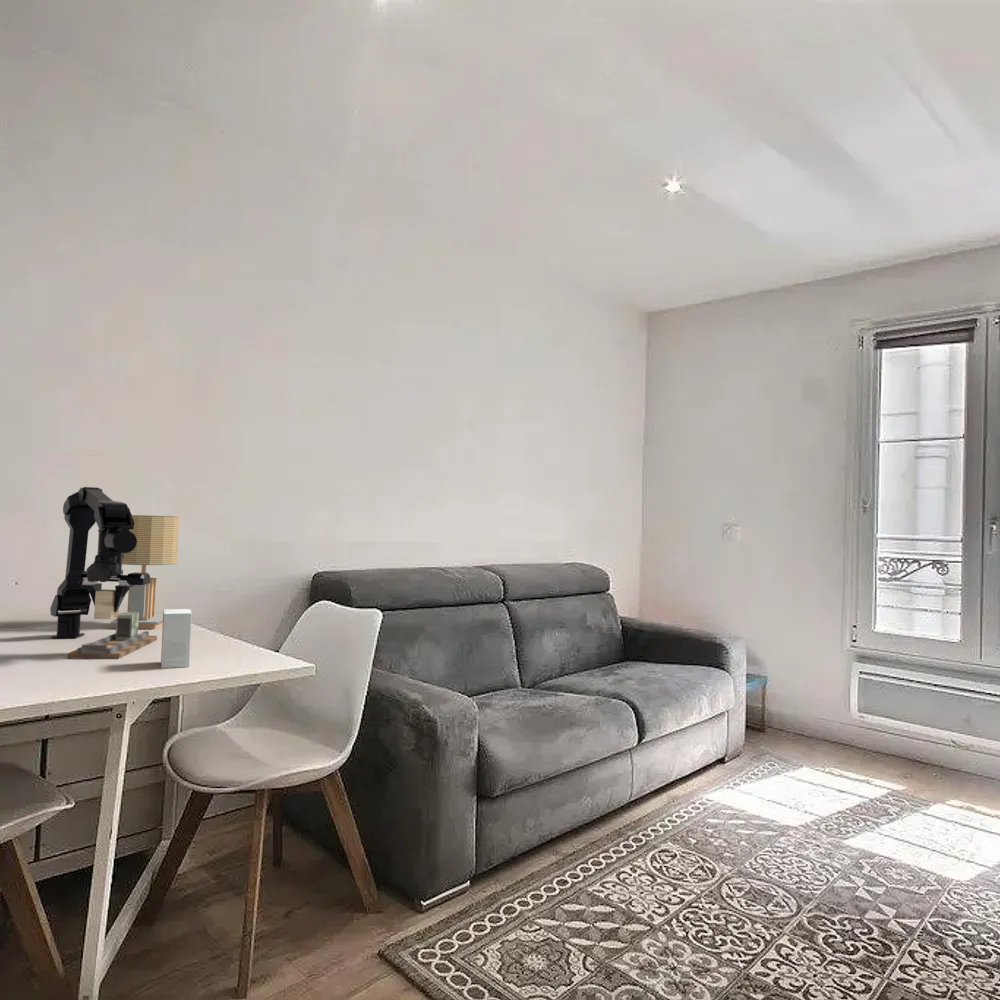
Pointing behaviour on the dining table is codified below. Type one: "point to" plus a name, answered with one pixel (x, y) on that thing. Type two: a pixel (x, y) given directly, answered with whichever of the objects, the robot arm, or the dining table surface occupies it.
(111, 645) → the rail base
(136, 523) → the desk lamp
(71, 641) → the dining table surface
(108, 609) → the tan wooden block
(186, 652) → the small box
